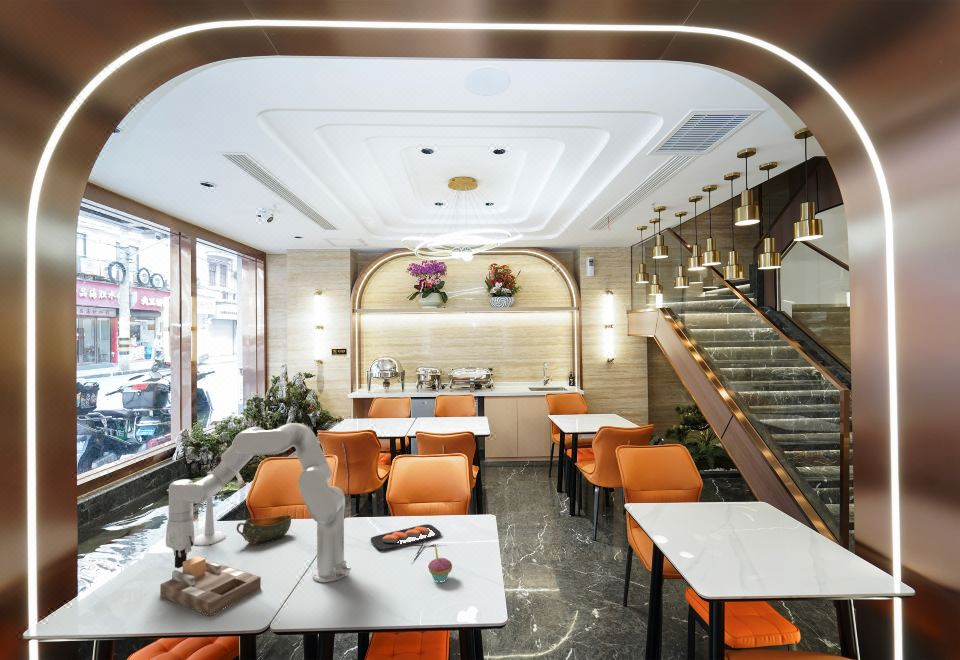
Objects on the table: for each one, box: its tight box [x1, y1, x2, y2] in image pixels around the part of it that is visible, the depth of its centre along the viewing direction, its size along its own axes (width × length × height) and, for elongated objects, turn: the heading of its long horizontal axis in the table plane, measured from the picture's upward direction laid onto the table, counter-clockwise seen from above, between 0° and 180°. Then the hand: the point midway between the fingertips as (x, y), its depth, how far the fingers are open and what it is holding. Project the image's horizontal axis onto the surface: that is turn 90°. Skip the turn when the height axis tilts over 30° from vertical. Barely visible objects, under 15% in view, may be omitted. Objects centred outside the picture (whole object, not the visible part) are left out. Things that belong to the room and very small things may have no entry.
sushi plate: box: [370, 523, 442, 555], centre depth 193 cm, size 29×30×4 cm
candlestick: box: [193, 470, 227, 547], centre depth 201 cm, size 13×13×30 cm
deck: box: [159, 559, 262, 616], centre depth 158 cm, size 27×18×6 cm, turn 64°
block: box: [182, 555, 207, 578], centre depth 162 cm, size 5×5×5 cm
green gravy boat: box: [236, 514, 292, 546], centre depth 200 cm, size 13×20×10 cm, turn 100°
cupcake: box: [427, 544, 453, 582], centre depth 165 cm, size 9×8×12 cm
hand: (180, 566), depth 166 cm, fingers closed
